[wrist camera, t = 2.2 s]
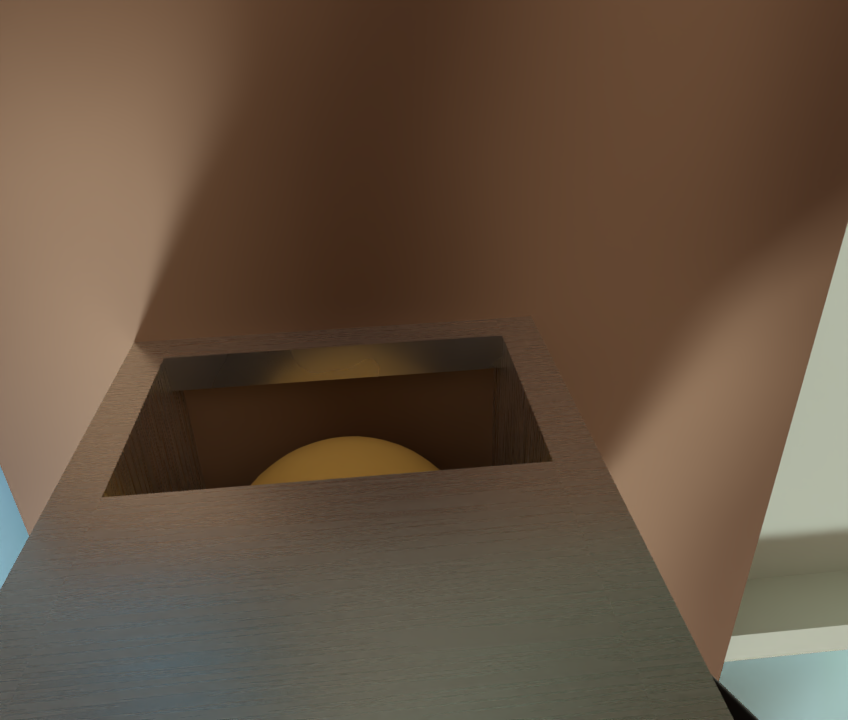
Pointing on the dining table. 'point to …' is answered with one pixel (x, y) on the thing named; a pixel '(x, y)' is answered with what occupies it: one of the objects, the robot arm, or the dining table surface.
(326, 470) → the ball
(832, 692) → the dining table surface
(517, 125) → the brown flat board
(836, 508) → the tray
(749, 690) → the dining table surface
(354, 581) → the gray slotted box
